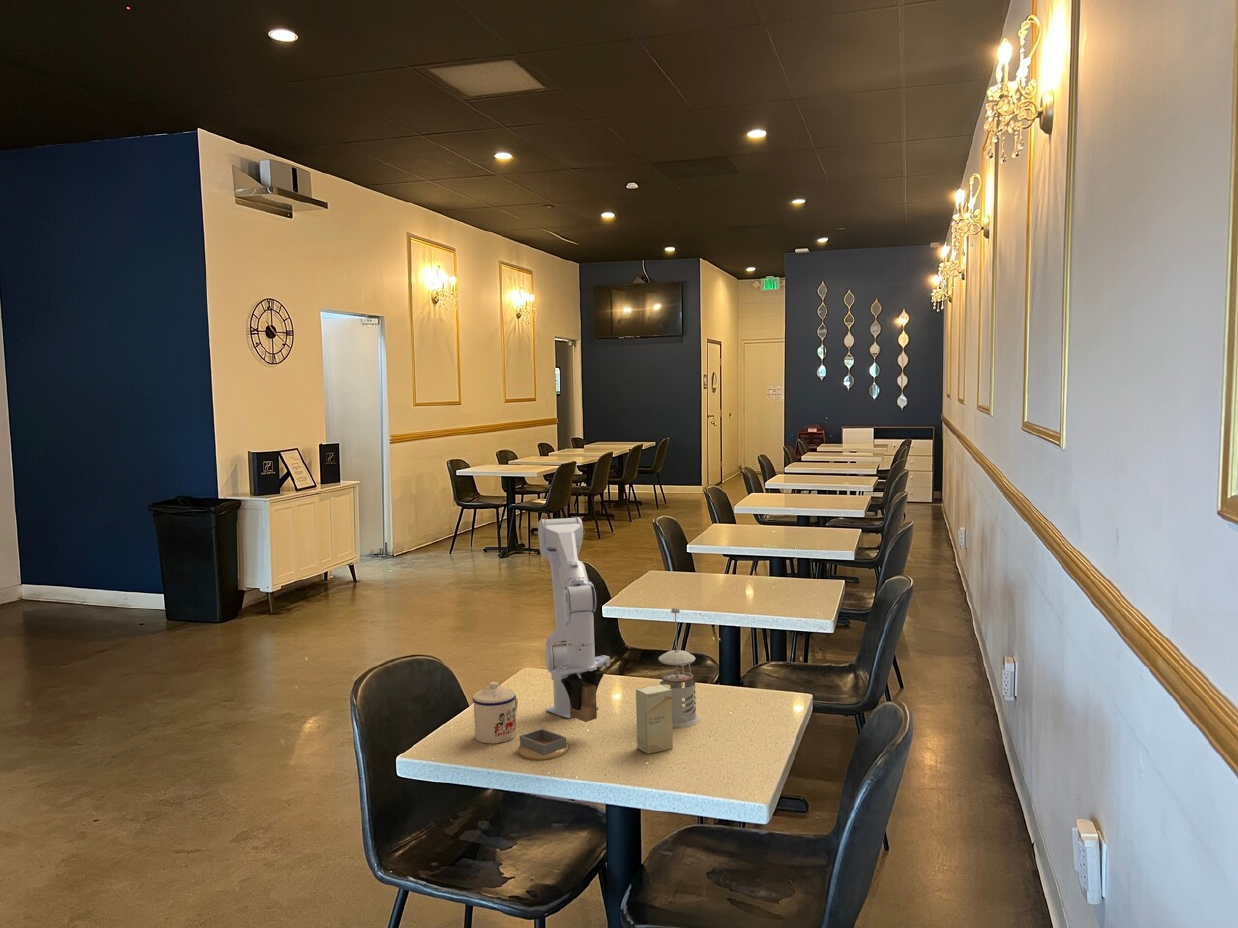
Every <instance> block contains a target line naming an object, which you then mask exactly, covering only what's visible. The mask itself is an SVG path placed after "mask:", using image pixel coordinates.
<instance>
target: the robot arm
mask: <svg viewBox="0 0 1238 928" xmlns="http://www.w3.org/2000/svg"><path fill="white" fill-rule="evenodd" d="M583 526H584V525H583V521H582V518H580V517H579V516H576V517H567V518H550V519H549V518H547V519H544V518H541V519H540V520H539V521H538V524H537V532H538V533H537V535H538V544H539V545H538V546H539V552H540V556H541V557H543V558H545V559H548V560H547V561H548V564H549V566H550V570H551V582H552V584H551V585H552V593H553V604H554V605H553V606H554V616H555V618H554V619H555V627H556V629H555V630H554V631H553V632H552V633H551V634H550V635H549V636H547V638H546V640H545V665H546V669H547V671H548V672H549V673H550V675H551V680H552V681H553V683H552V684H553V706H550V707H547V708H545V711H546V712H549V713H552V714H554V715H558V716H559V717H563V718H565V719H570V718H572V717H570V703H571V706H572V708H573V709H575V710H580V709H581V692H582V686H583V683H584V682H586V683H590V684H593V685H596V692H597V690H598V689H599V685H600V682H601V680H602V679H603V677H604V670H602V669H600V668H603V667H609V666H611V658H610V656H608V655H600V656H599V655H598V656H596V655H595V653H596V652H595V651H596V650H595V627H594V625H595V624H594V621H595V620H594V612H596V608H597V594H596V590H595V585H594V583H592V581H590V580H589V577H588V573H587V570H586V565H585V564H584V562H582V561H580V560H579V556H578V554H580V551H581V548H582V543H583V539H584V527H583ZM599 707H600V706H599V705H597V704H596V709H599Z"/></svg>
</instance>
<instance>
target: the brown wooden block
mask: <svg viewBox="0 0 1238 928" xmlns="http://www.w3.org/2000/svg"><path fill="white" fill-rule="evenodd" d="M596 705H597V691H596V685H593V684H590V683H586V682H584V683H583V686H582V692H581V709H580V710H575V709H573V708H572V706H571V703H570V717H571V718H573V719H577V720H578V721H581V722H584V723H588V722H590V721H593V720H596V719H597V718H598V713H597V709H598V708H597V709H596Z"/></svg>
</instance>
